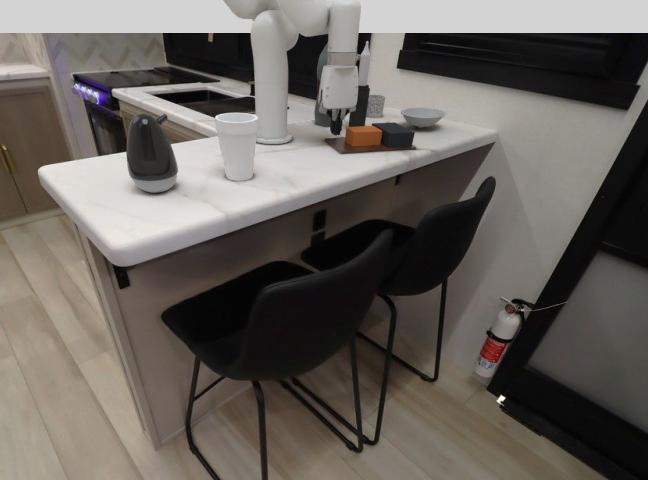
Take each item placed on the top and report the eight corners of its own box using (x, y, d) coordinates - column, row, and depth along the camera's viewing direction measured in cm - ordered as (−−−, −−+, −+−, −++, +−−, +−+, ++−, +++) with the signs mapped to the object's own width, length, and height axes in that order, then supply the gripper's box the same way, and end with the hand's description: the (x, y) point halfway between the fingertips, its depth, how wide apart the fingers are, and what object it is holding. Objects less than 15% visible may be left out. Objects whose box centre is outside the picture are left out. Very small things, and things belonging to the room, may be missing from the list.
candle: (364, 132, 126) (377, 41, 111) (349, 131, 126) (360, 41, 111) (362, 128, 130) (374, 40, 115) (347, 127, 130) (357, 40, 115)
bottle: (308, 122, 135) (313, 17, 116) (327, 119, 139) (335, 18, 121) (325, 128, 129) (334, 19, 110) (345, 124, 133) (356, 19, 115)
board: (341, 153, 107) (341, 151, 106) (324, 140, 117) (324, 138, 117) (416, 149, 112) (416, 147, 112) (393, 136, 123) (394, 134, 122)
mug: (375, 113, 150) (378, 94, 146) (385, 116, 145) (388, 97, 141) (354, 114, 147) (356, 95, 142) (363, 118, 142) (365, 98, 138)
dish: (425, 136, 124) (429, 120, 121) (388, 127, 132) (391, 112, 129) (450, 127, 134) (454, 112, 131) (414, 120, 142) (417, 105, 139)
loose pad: (352, 146, 110) (354, 132, 108) (344, 141, 115) (346, 126, 113) (380, 145, 112) (382, 130, 110) (371, 139, 117) (373, 125, 115)
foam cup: (222, 184, 86) (217, 123, 78) (217, 170, 93) (212, 113, 85) (263, 181, 88) (262, 121, 80) (254, 168, 95) (253, 112, 87)
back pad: (387, 147, 111) (390, 133, 108) (370, 136, 120) (372, 123, 117) (411, 146, 112) (415, 132, 110) (392, 135, 121) (395, 122, 119)
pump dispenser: (190, 188, 84) (180, 113, 75) (149, 201, 78) (132, 122, 68) (164, 176, 89) (152, 105, 80) (123, 188, 83) (105, 112, 74)
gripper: (361, 58, 103) (354, 129, 114) (309, 59, 100) (307, 132, 111) (373, 60, 97) (364, 136, 109) (319, 62, 94) (315, 139, 105)
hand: (335, 134), depth 110 cm, fingers closed
